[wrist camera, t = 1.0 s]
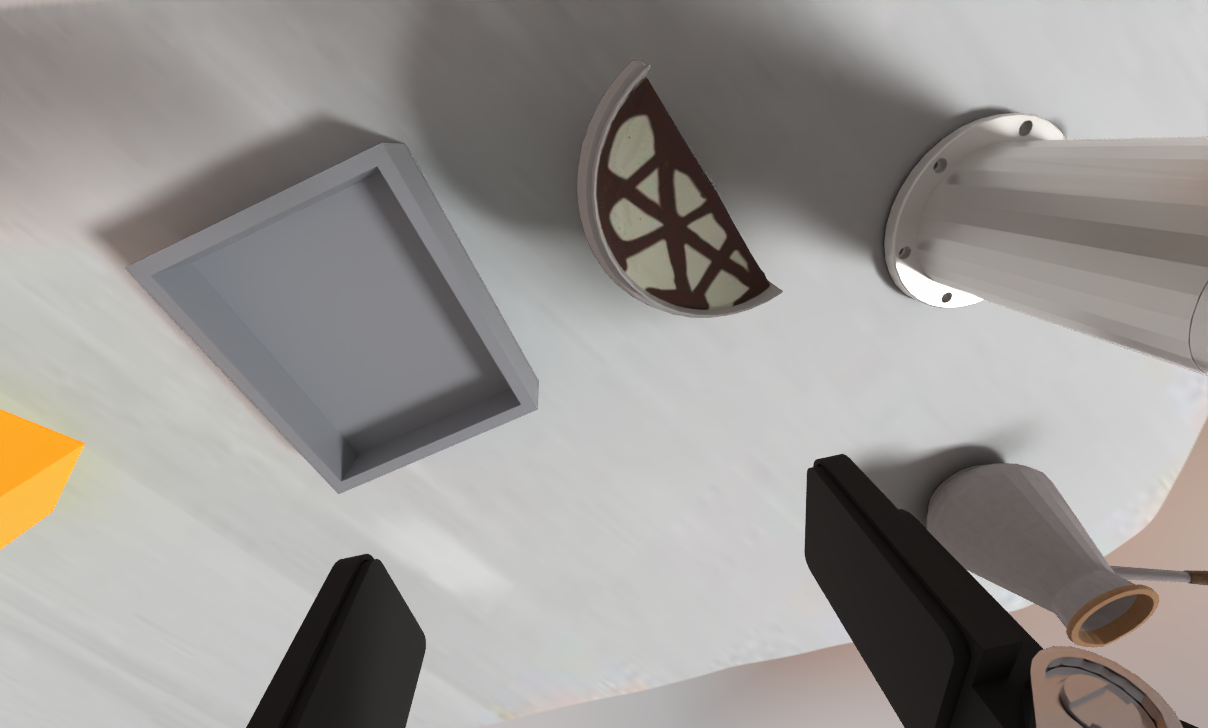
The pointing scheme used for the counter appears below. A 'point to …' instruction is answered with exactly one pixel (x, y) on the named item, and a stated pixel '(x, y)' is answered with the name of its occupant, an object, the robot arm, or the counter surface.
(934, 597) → the robot arm
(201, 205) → the counter surface
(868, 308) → the counter surface
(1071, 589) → the coffee pot
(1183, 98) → the counter surface
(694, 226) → the food container
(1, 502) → the orange juice
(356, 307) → the grey bin
